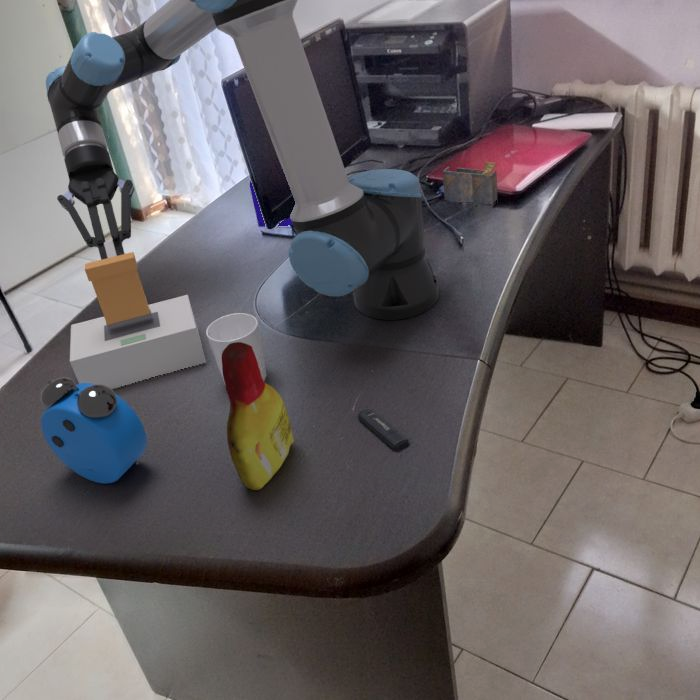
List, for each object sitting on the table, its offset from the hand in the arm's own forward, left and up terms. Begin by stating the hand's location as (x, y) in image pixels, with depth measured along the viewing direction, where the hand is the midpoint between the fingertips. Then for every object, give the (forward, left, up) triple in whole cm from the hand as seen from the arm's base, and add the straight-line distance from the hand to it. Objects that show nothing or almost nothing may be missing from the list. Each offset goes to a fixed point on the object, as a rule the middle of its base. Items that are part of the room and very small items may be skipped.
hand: (118, 279), depth 123 cm
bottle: (-44, +5, -13) cm, 46 cm away
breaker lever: (-6, +3, -4) cm, 8 cm away
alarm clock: (-27, +20, -13) cm, 36 cm away
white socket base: (-6, +3, -13) cm, 14 cm away
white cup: (-25, -5, -13) cm, 29 cm away
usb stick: (-51, -10, -13) cm, 54 cm away
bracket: (+21, -52, -13) cm, 58 cm away
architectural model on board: (-11, -76, -13) cm, 78 cm away
